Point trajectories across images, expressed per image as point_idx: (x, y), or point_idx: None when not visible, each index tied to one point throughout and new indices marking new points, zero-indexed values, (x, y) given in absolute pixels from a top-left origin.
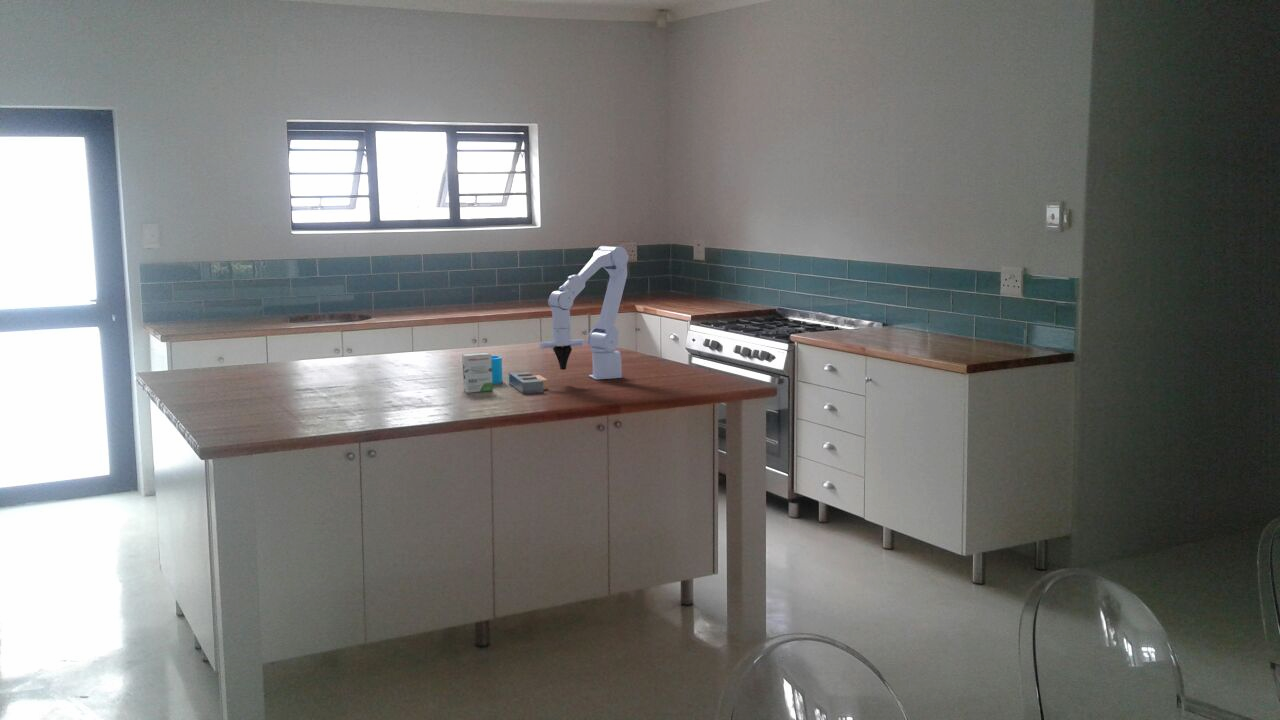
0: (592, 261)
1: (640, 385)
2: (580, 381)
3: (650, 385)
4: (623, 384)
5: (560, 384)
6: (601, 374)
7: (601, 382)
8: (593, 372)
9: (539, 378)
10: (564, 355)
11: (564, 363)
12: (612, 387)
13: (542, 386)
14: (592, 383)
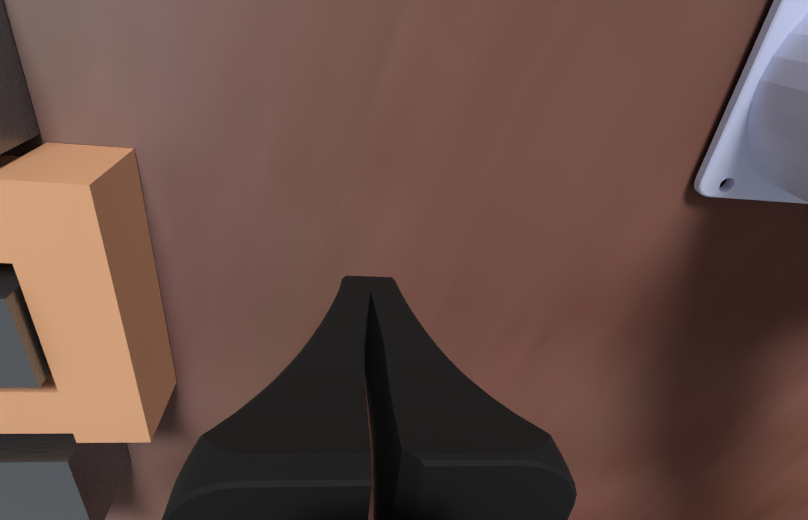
0: None
1: (748, 456)
2: (547, 184)
3: (784, 469)
4: (705, 406)
5: (328, 247)
6: (788, 190)
7: (652, 296)
8: (789, 100)
9: (78, 372)
10: (374, 512)
11: (370, 405)
12: (589, 457)
13: (109, 498)
14: (573, 307)
